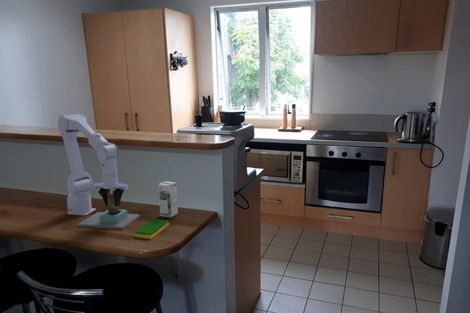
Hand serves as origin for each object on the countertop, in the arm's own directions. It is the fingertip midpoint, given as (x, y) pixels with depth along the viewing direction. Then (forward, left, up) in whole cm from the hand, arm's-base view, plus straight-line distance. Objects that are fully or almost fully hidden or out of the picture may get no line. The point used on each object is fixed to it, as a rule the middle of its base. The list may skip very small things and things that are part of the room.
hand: (112, 205), depth 143 cm
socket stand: (-2, 0, -7) cm, 7 cm away
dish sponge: (+20, -6, -8) cm, 22 cm away
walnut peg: (0, 0, -3) cm, 3 cm away
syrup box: (+20, +11, -7) cm, 24 cm away
